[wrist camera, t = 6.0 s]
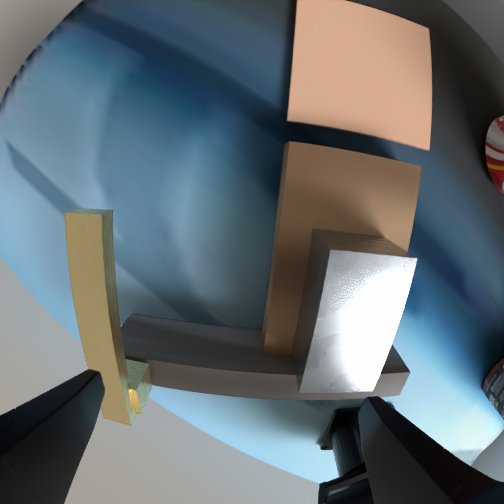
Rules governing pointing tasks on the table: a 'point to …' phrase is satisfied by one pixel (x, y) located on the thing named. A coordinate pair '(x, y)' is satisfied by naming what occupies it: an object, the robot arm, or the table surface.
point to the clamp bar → (103, 314)
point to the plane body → (286, 281)
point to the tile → (361, 72)
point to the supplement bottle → (495, 387)
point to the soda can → (496, 152)
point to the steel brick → (349, 310)
